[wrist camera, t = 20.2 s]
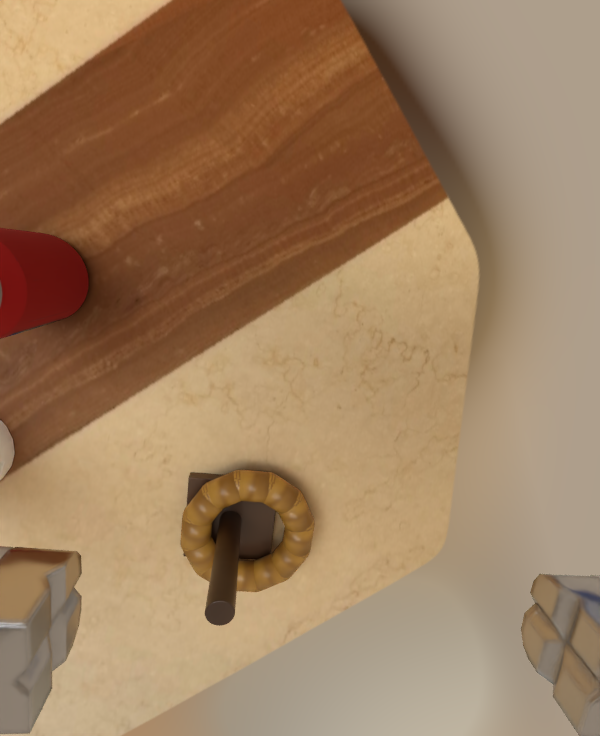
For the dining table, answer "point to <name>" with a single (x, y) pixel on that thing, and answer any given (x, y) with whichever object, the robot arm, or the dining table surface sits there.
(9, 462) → the bottle
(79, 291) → the beverage can
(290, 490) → the ring
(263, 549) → the post
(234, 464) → the dining table surface
